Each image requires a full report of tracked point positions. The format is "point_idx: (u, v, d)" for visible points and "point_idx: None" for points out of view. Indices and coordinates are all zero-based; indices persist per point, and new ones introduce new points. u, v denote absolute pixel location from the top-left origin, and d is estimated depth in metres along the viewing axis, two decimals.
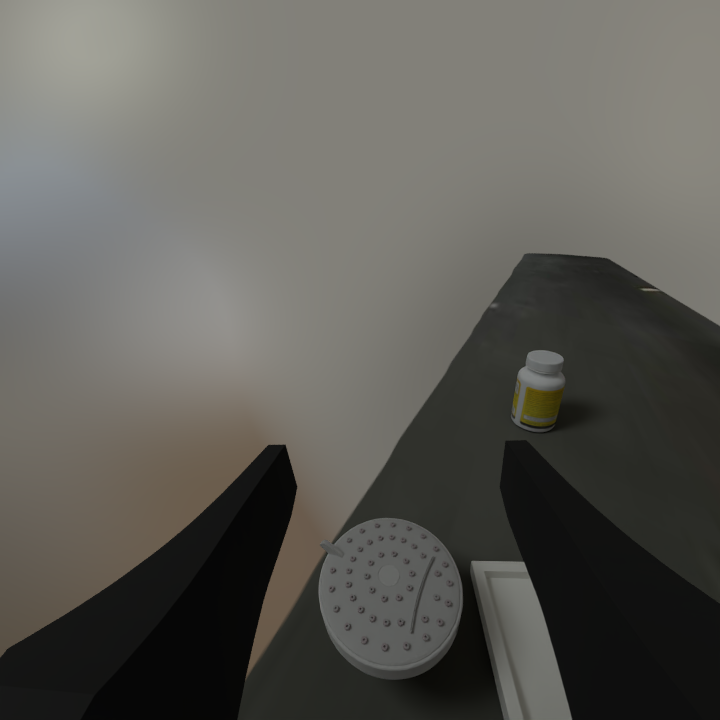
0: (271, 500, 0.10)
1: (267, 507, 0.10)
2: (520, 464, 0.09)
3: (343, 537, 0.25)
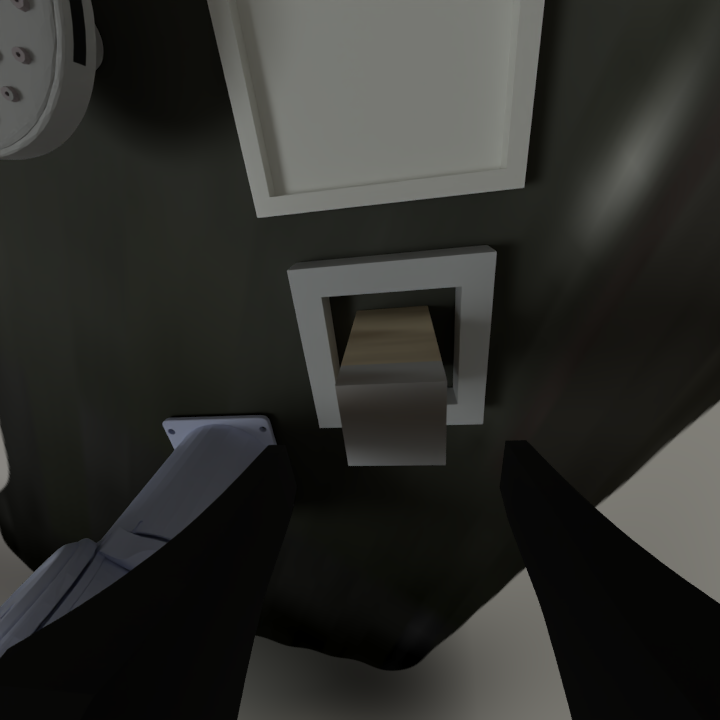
0: (271, 500, 0.10)
1: (267, 507, 0.10)
2: (520, 464, 0.09)
3: None
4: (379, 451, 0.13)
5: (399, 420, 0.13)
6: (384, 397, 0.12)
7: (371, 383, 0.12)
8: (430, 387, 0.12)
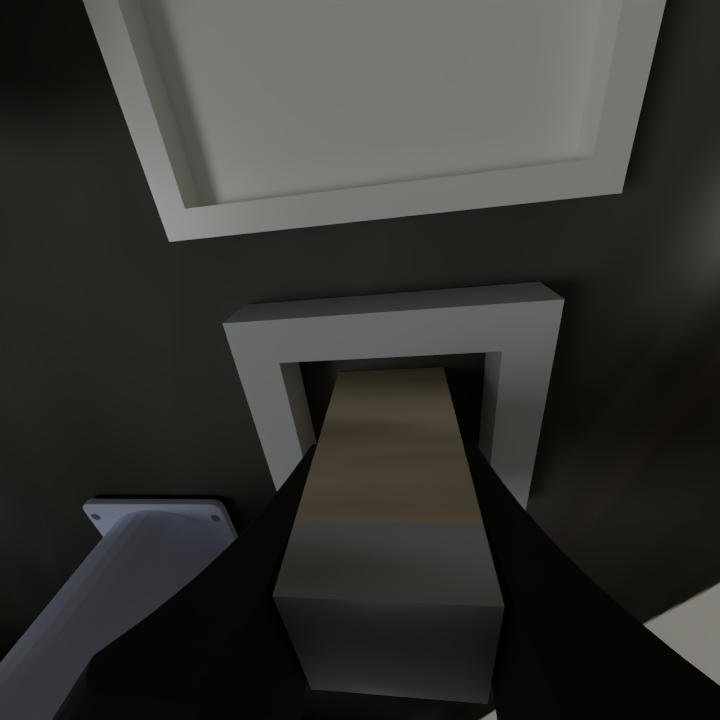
0: None
1: None
2: None
3: None
4: (365, 679, 0.07)
5: (403, 647, 0.06)
6: (373, 618, 0.06)
7: (345, 596, 0.06)
8: (468, 612, 0.06)
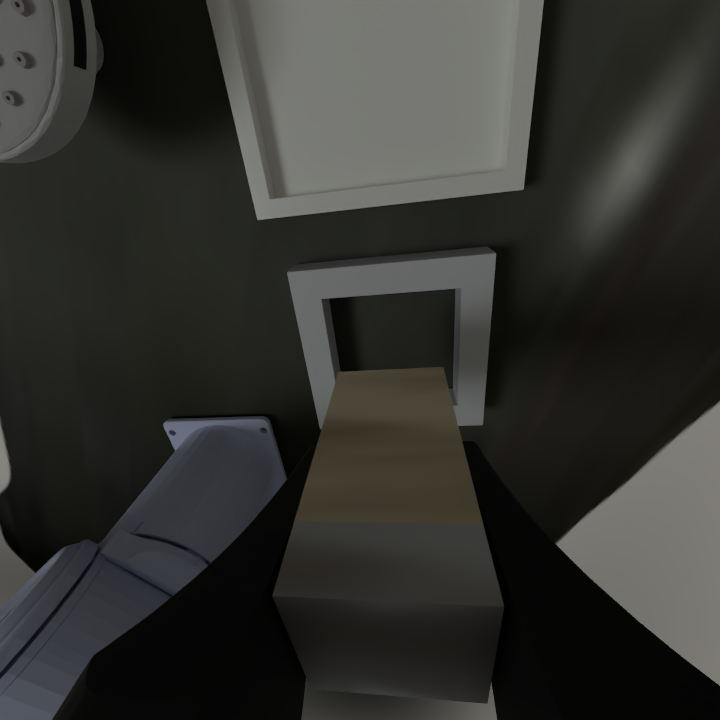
0: None
1: None
2: None
3: None
4: (365, 679, 0.07)
5: (403, 647, 0.06)
6: (373, 618, 0.06)
7: (346, 595, 0.06)
8: (467, 612, 0.06)
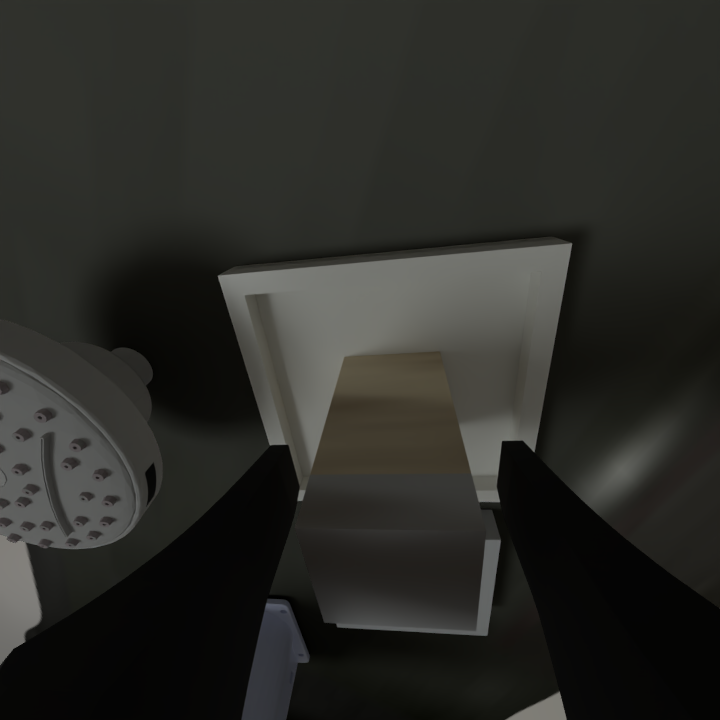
0: (274, 500, 0.10)
1: (270, 507, 0.10)
2: (516, 464, 0.09)
3: None
4: (371, 609, 0.09)
5: (403, 576, 0.08)
6: (378, 547, 0.07)
7: (356, 526, 0.07)
8: (456, 538, 0.07)
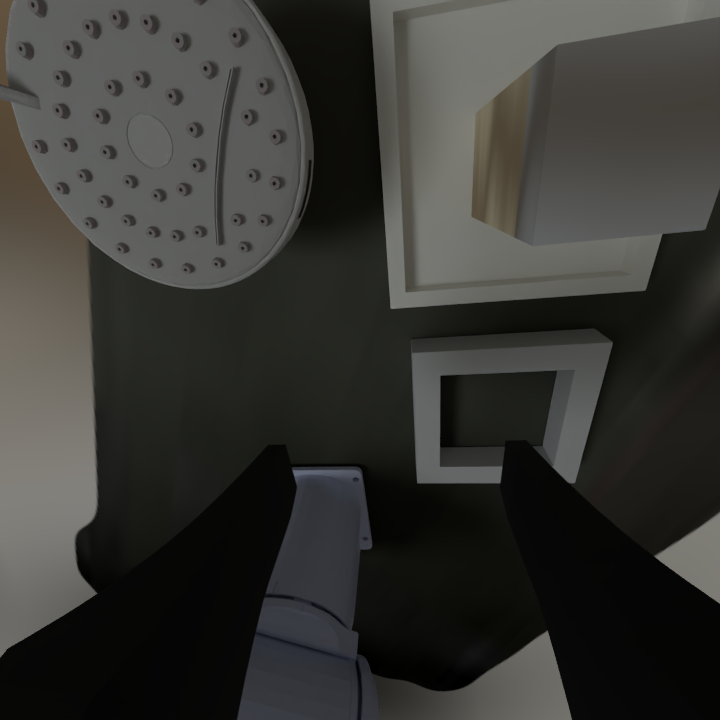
0: (271, 500, 0.10)
1: (267, 507, 0.10)
2: (520, 464, 0.09)
3: (10, 39, 0.10)
4: (595, 207, 0.08)
5: (655, 125, 0.07)
6: (644, 67, 0.07)
7: (627, 33, 0.07)
8: None
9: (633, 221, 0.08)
